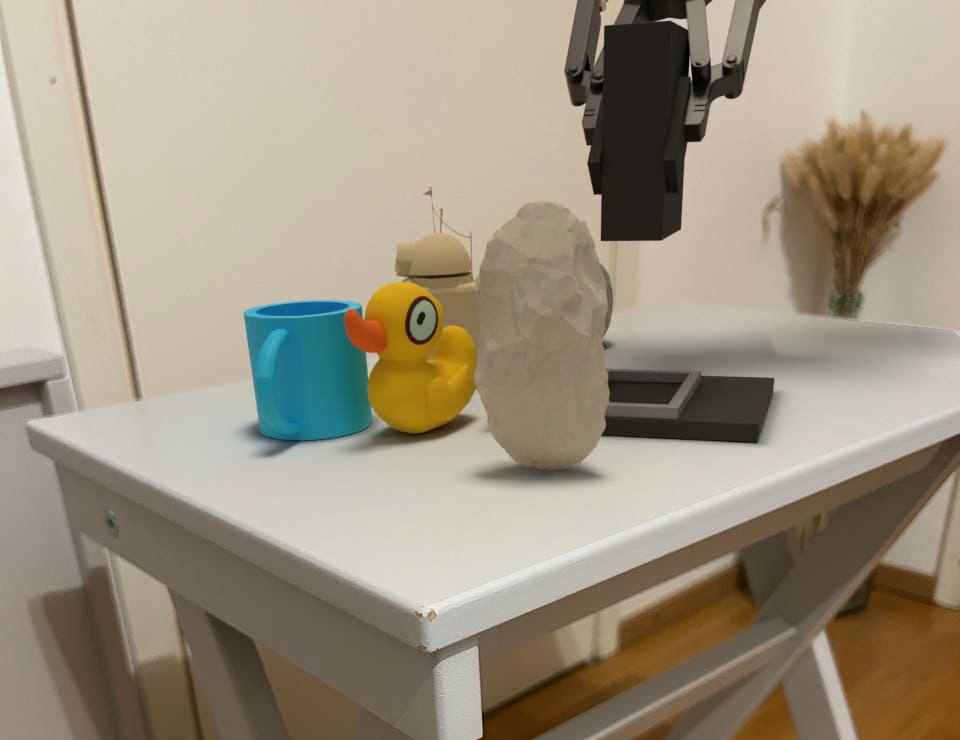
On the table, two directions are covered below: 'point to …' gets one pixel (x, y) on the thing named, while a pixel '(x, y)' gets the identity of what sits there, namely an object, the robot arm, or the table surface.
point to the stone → (543, 338)
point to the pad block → (640, 129)
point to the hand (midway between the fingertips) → (633, 177)
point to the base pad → (686, 405)
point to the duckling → (413, 358)
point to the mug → (307, 370)
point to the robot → (443, 276)
